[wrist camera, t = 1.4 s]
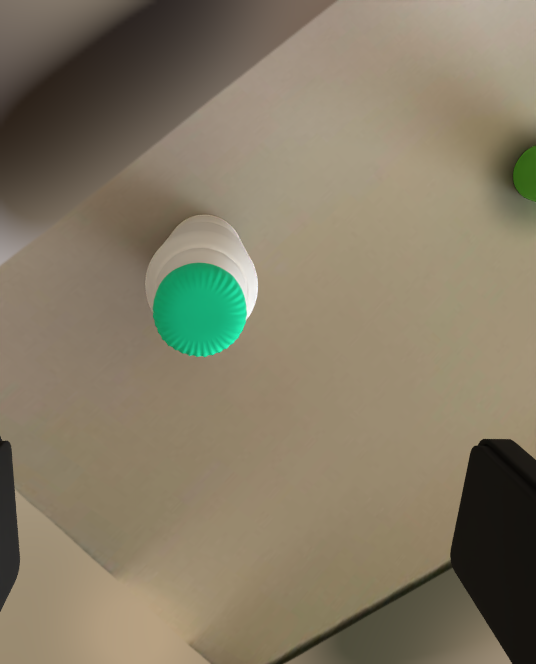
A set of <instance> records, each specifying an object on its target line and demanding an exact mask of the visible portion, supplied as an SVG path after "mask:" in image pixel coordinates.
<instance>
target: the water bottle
mask: <svg viewBox="0 0 536 664" xmlns="http://www.w3.org/2000/svg"><path fill="white" fill-rule="evenodd" d="M145 291H146V297H147V301H148V304H149V306H150V309H151V311H152V312H153V318H154V320H155V326H156V327H157V329H158V333H159V334H160V335H161V337H162V339H163V340H164V341H165V342H166V343H167V344H168V346H171V347H173V348H174V349H175V350H178V351H180V352H181V353H186V354H188V355H189V356H191V355H194V356H196V357H198V356H203V357H206V356H208V355H214V354H215V353H220V352H221V351H222V350H223V349H227V348H228V347H229V345H231V344H233V343H234V341H235V340H236V339H238V338H239V335H240V333H241V332H242V331H243V327H244V325H245V323H246V320H247V318H248V317H249V315H250V314H251V312H252V310H253V308H254V305H255V302H256V299H257V293H258V279H257V274H256V270H255V267H254V264H253V262H252V260H251V258H250V257H249V255H248V254H247V251H246V249H245V248H244V246H243V244H242V242H241V240H240V238H239V236H238V234H237V232H236V231H235V229H234V228H233V227H232V226H231V225H230V224H229V223H228V222H226V221H225V220H223V219H221V218H219V217H216V216H213V215H196V216H192V217H190V218H187V219H186V220H184V221H182V222H181V223H180V224H179V225H178V226H177V227H176V228H175V229H174V231H173V232H172V233H171V235H170V236H169V237H168V238H167V239H166V241H165V242H164V243H163V245H162V246H161V247H160V248H159V249H158V250H157V251H156V253H155V254H154V256H153V257H152V259H151V261H150V263H149V266H148V269H147V273H146V278H145Z"/></svg>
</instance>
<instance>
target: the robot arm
mask: <svg viewBox="0 0 536 664" xmlns="http://www.w3.org/2000/svg"><path fill="white" fill-rule="evenodd" d="M450 557H451V563H452V567H453V569H454V571H455V573H456V574H457V576H458V578H459V579H460V581H461V582H462V584H463V585H464V587H465V589H466V590H467V592H468V593H469V595H470V597H471V598H472V600H473V601H474V603H475V605H476V606H477V608H478V609H479V611H480V613H481V614H482V616H483V617H484V619H485V620H486V622H487V624H488V625H489V627H490V629H491V630H492V632H493V633H494V635H495V637H496V638H497V640H498V641H499V643H500V645H501V646H502V648H503V649H504V651H505V652H506V654H507V656H508V657H509V659H510V660H511V662H512V664H536V460H535V459H534V458H533V457H532V456H531V455H529V454H528V453H527V452H526V451H525V450H523V449H522V448H521V447H520V446H519V445H518V444H516V443H515V442H514V441H512V440H511V439H483V440H481V441H480V443H479V444H478V446H474V447H473V448H472V450H471V453H470V457H469V462H468V467H467V472H466V477H465V482H464V487H463V492H462V497H461V502H460V507H459V512H458V517H457V522H456V527H455V532H454V537H453V542H452V546H451V553H450ZM19 565H20V554H19V541H18V528H17V516H16V502H15V489H14V477H13V464H12V451H11V445H10V442H8V441H2V439H1V437H0V611H1V609H2V607H3V605H4V603H5V601H6V599H7V597H8V595H9V593H10V591H11V589H12V587H13V585H14V583H15V580H16V578H17V575H18V571H19Z"/></svg>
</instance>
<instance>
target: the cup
mask: <svg viewBox="0 0 536 664" xmlns="http://www.w3.org/2000/svg"><path fill="white" fill-rule="evenodd" d="M513 182H514V185H515V188H516V189H517V190H518V192H519V193H520V194H521V195H522V196H523V197H524V198H527V199H529V200H532V201H535V202H536V145H535V146H533V147H531V148H529V149H528V150H526V151H525V152H524V153H523V154H522V155H521V157H520V158H519V159H518V161H517V163H516V165H515V168H514V171H513Z"/></svg>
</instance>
